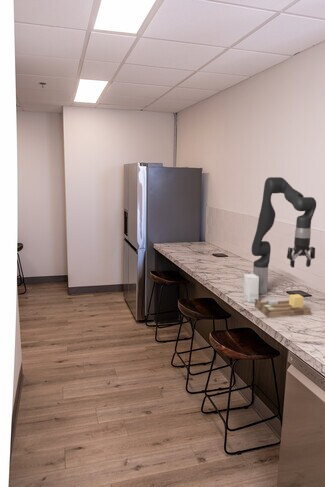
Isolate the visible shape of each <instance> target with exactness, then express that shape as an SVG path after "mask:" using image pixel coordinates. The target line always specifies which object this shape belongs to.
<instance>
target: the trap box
mask: <svg viewBox="0 0 325 487" xmlns="http://www.w3.org/2000/svg"><path fill="white" fill-rule="evenodd" d="M277 301H278V304H276V305H270V304H268V301H260V300H259V299H258V300H257V299H255V302H254V307H255V308H256V310H258V311H259V312H261V313H262V314H263V315H264V316H265V317H266V318H279V317H280V318H281V317H295V316H309V315H310V316H311V314H312V313H311V312H312V311H311V309H309V308H308V307H307V306H305V305H303V307H293V306H291V305H290V304H289V299H288V300H277Z"/></svg>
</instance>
